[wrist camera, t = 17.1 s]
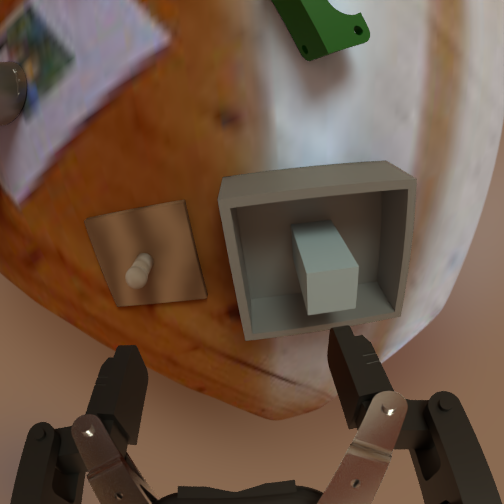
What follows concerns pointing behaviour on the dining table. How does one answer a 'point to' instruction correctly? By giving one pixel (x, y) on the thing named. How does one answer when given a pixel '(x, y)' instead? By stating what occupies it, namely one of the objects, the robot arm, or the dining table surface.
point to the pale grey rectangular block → (324, 267)
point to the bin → (311, 210)
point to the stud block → (148, 254)
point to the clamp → (321, 27)
